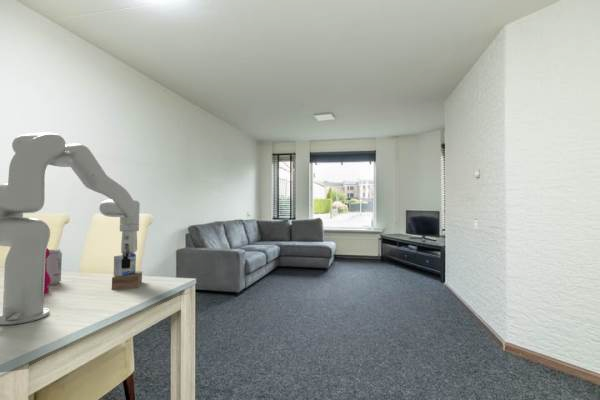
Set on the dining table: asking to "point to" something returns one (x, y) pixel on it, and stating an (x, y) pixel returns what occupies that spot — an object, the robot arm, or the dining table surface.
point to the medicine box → (125, 271)
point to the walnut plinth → (127, 281)
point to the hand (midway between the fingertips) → (128, 266)
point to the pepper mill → (46, 274)
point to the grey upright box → (54, 266)
